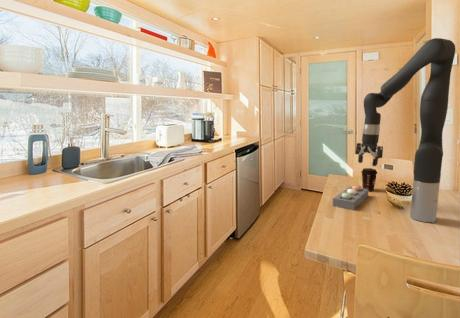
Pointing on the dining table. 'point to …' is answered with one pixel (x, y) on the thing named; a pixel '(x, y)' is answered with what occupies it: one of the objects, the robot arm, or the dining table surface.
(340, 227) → the dining table surface
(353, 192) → the offwhite button
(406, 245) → the dining table surface
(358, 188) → the terracotta button
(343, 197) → the sage button
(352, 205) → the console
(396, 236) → the dining table surface
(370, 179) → the coffee cup
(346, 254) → the dining table surface
